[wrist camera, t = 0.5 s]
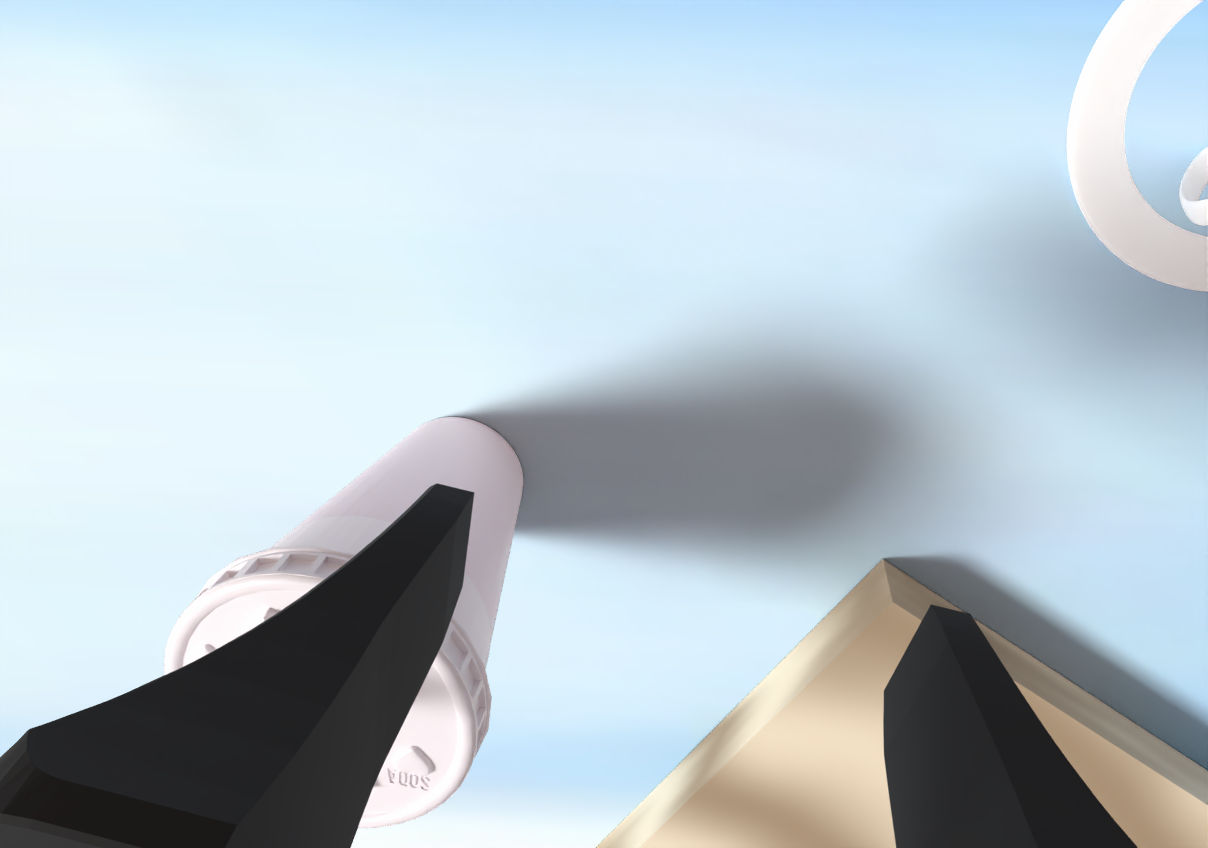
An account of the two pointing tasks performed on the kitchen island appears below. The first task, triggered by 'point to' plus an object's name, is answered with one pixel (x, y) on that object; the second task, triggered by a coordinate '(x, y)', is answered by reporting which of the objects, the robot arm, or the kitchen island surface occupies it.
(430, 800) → the smoothie
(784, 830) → the base board
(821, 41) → the kitchen island surface
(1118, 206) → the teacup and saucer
